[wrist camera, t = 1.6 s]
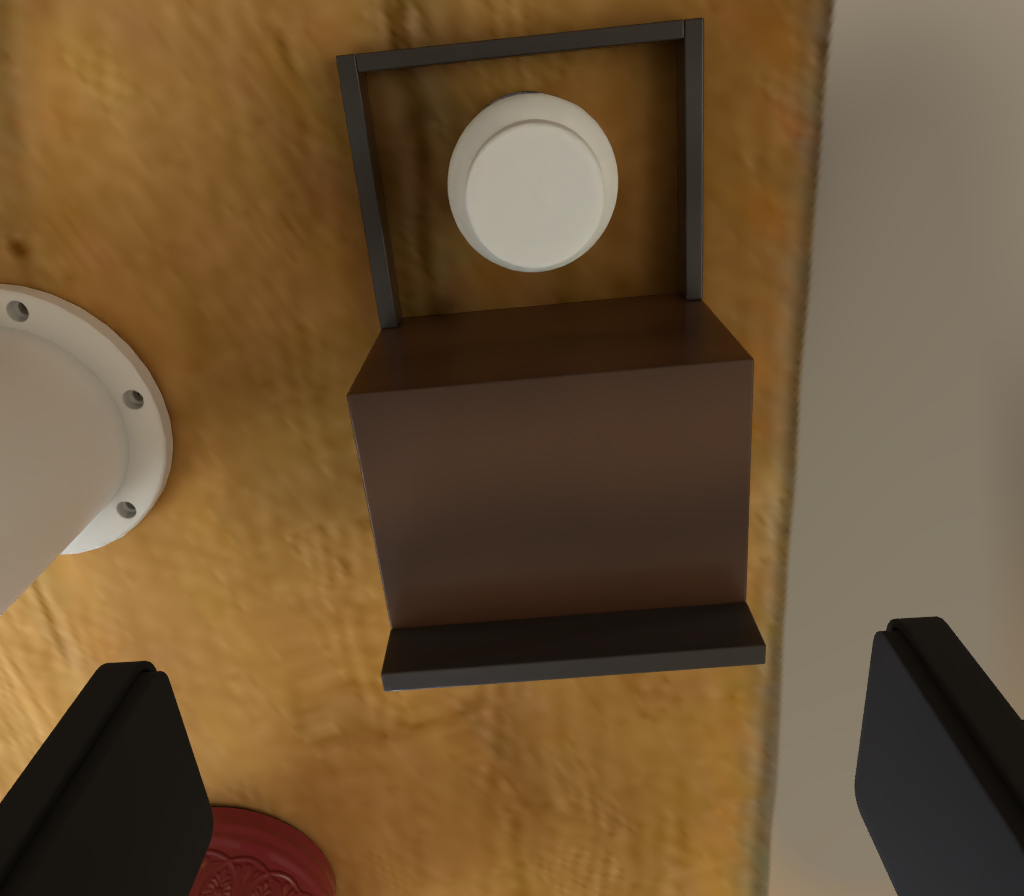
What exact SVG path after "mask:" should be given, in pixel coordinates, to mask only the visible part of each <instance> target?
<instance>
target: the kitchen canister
mask: <svg viewBox="0 0 1024 896" xmlns="http://www.w3.org/2000/svg"><path fill="white" fill-rule="evenodd" d="M211 809H212V812H213V818H214V827H213V834H212V839H211V842H210V845H209V847H208V850H207V852H206V855H205V857H204V859H203V862H202V864H201V867H200V869H199V872H198V874H197V876H196V879H195V881H194V884H193V886H192V889H191V891H190V893H189V896H336V881H335V876H334V873H333V870H332V868H331V865H330V863H329V862H328V860H327V858H326V857H325V855H324V854H323V853H322V851H321V850H320V849H319V848H318V847H317V846H316V845H315V844H314V843H313V842H312V841H311V840H310V839H309V838H307V837H306V836H305V835H304V834H302V833H301V832H299V831H298V830H296V829H295V828H293V827H291V826H289V825H288V824H286V823H284V822H281V821H279V820H277V819H275V818H272V817H270V816H267V815H264V814H260V813H257V812H253V811H248V810H243V809H237V808H226V807H211Z"/></svg>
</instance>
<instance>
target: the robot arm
mask: <svg viewBox="0 0 1024 896" xmlns="http://www.w3.org/2000/svg"><path fill="white" fill-rule="evenodd" d="M24 305H25V306H24ZM25 307H26V308H27V309H26V308H25ZM137 392H138V393H140V395H141V396H142V397H141V396H139V395H138V394H137ZM172 454H173V437H172V430H171V422H170V417H169V414H168V411H167V408H166V405H165V402H164V399H163V396H162V394H161V392H160V390H159V388H158V386H157V385H156V383H155V381H154V379H153V377H152V376H151V374H150V372H149V370H148V369H147V367H146V366H145V365H144V364H143V362H142V361H141V360H140V358H139V357H138V356H137V355H136V353H135V352H134V351H133V350H132V348H131V347H130V346H129V345H128V344H127V343H126V342H125V341H124V340H123V339H121V338H120V337H119V336H118V335H117V334H116V333H115V332H114V331H113V330H112V329H111V328H110V327H108V326H107V325H106V324H105V323H103V322H102V321H100V320H99V319H97V318H96V317H94V316H93V315H91V314H90V313H88V312H87V311H85V310H84V309H82V308H81V307H79V306H76V305H74V304H72V303H70V302H68V301H66V300H63V299H61V298H59V297H57V296H55V295H53V294H50V293H46V292H42V291H39V290H35V289H32V288H28V287H25V286H19V285H10V284H0V616H1V615H2V614H3V613H4V612H5V611H6V610H7V609H8V608H9V607H10V606H11V605H12V604H13V603H14V602H15V601H16V600H17V599H18V598H19V597H20V595H21V594H22V593H23V592H24V591H25V590H26V589H27V588H28V587H29V586H30V585H31V584H32V583H33V582H34V581H35V580H36V579H37V578H38V577H39V576H40V575H41V574H42V573H43V571H44V570H45V569H46V568H47V567H48V566H49V565H50V564H51V563H52V562H53V561H54V560H55V559H56V558H57V557H58V556H59V555H64V554H77V553H81V552H85V551H89V550H93V549H97V548H100V547H103V546H105V545H107V544H109V543H111V542H113V541H115V540H117V539H119V538H121V537H122V536H124V535H125V534H126V533H127V532H129V531H130V530H131V529H132V528H134V527H135V526H136V525H138V524H139V523H140V521H141V520H142V519H143V518H144V517H145V516H146V515H147V513H148V512H149V511H150V510H151V509H152V508H153V506H154V505H155V503H156V501H157V500H158V498H159V497H160V495H161V493H162V492H163V490H164V488H165V485H166V482H167V479H168V476H169V473H170V470H171V466H172ZM855 796H856V801H857V805H858V808H859V811H860V814H861V816H862V818H863V820H864V823H865V825H866V827H867V829H868V831H869V833H870V836H871V838H872V840H873V842H874V844H875V847H876V849H877V851H878V853H879V855H880V858H881V860H882V862H883V864H884V867H885V869H886V871H887V872H888V875H889V877H890V880H891V882H892V884H893V886H894V888H895V891H896V893H897V895H898V896H1024V720H1021V718H1020V717H1019V716H1018V715H1017V713H1016V712H1015V711H1014V709H1013V708H1012V707H1011V706H1010V704H1009V703H1008V702H1007V700H1006V699H1005V698H1004V697H1003V695H1002V694H1001V693H1000V691H999V690H998V689H997V687H996V686H995V685H994V684H993V682H992V681H991V680H990V678H989V677H988V676H987V675H986V673H985V672H984V671H983V669H982V668H981V667H980V666H979V664H978V663H977V662H976V661H975V659H974V658H973V657H972V655H971V654H970V653H969V651H968V650H967V649H966V647H965V646H964V645H963V644H962V642H961V641H960V640H959V639H958V637H957V636H956V635H955V633H954V632H953V631H952V629H951V628H950V627H949V625H948V624H947V623H946V622H945V621H944V620H943V619H942V618H939V617H921V618H901V619H893V620H891V621H890V622H889V624H888V625H887V630H886V631H879V632H876V634H875V636H874V640H873V647H872V654H871V662H870V670H869V678H868V685H867V692H866V700H865V707H864V715H863V722H862V730H861V737H860V745H859V753H858V760H857V768H856V775H855ZM213 827H214V818H213V812H212V809H211V806H210V803H209V800H208V797H207V793H206V790H205V787H204V784H203V781H202V778H201V775H200V772H199V769H198V766H197V763H196V760H195V757H194V754H193V751H192V748H191V745H190V742H189V739H188V736H187V733H186V730H185V727H184V723H183V720H182V717H181V714H180V711H179V708H178V705H177V702H176V699H175V696H174V693H173V690H172V687H171V684H170V681H169V678H168V676H167V674H165V673H164V672H162V671H157V670H156V668H155V666H154V665H153V664H152V663H151V662H148V661H136V662H119V663H106V664H104V665H101V666H100V667H99V668H98V669H97V670H96V672H95V673H94V674H93V676H92V677H91V678H90V680H89V681H88V683H87V684H86V685H85V687H84V688H83V689H82V691H81V692H80V694H79V695H78V696H77V698H76V699H75V701H74V702H73V703H72V705H71V706H70V707H69V709H68V710H67V712H66V713H65V714H64V716H63V717H62V719H61V720H60V721H59V723H58V724H57V725H56V727H55V728H54V730H53V731H52V732H51V734H50V735H49V736H48V738H47V739H46V741H45V742H44V743H43V745H42V746H41V748H40V749H39V750H38V752H37V753H36V754H35V756H34V757H33V759H32V760H31V761H30V763H29V764H28V766H27V767H26V768H25V770H24V771H23V772H22V774H21V775H20V777H19V778H18V779H17V781H16V782H15V783H14V785H13V786H12V788H11V789H10V790H9V792H8V793H7V795H6V796H5V797H4V799H3V800H2V801H1V803H0V896H189V893H190V891H191V889H192V886H193V884H194V881H195V879H196V876H197V874H198V872H199V869H200V867H201V864H202V862H203V859H204V857H205V855H206V852H207V850H208V847H209V845H210V842H211V839H212V834H213Z"/></svg>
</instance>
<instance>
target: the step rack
mask: <svg viewBox="0 0 1024 896" xmlns="http://www.w3.org/2000/svg"><path fill="white" fill-rule="evenodd" d="M676 40H677V119H678V249H679V292H680V293H673V294H662V295H651V296H640V297H629V298H619V299H608V300H597V301H586V302H575V303H564V304H553V305H542V306H531V307H521V308H510V309H499V310H488V311H477V312H466V313H455V314H444V315H433V316H423V317H412V318H402V313H401V307H400V300H399V294H398V287H397V281H396V274H395V268H394V261H393V255H392V248H391V242H390V235H389V229H388V222H387V216H386V209H385V203H384V196H383V190H382V183H381V177H380V170H379V164H378V157H377V151H376V144H375V138H374V131H373V125H372V118H371V112H370V105H369V99H368V92H367V86H366V79H365V73H370V72H379V71H389V70H399V69H408V68H418V67H427V66H437V65H447V64H456V63H466V62H475V61H485V60H495V59H504V58H514V57H523V56H533V55H543V54H552V53H562V52H571V51H581V50H591V49H600V48H610V47H619V46H629V45H639V44H648V43H658V42H667V41H676ZM336 62H337V68H338V74H339V80H340V86H341V92H342V98H343V104H344V110H345V116H346V122H347V128H348V134H349V140H350V146H351V152H352V158H353V164H354V170H355V176H356V182H357V188H358V194H359V200H360V206H361V212H362V218H363V224H364V230H365V236H366V242H367V248H368V254H369V260H370V266H371V272H372V278H373V284H374V290H375V296H376V302H377V308H378V314H379V320H380V326H381V329H382V330H381V331H380V333H379V335H378V337H377V339H376V341H375V343H374V345H373V347H372V349H371V350H370V352H369V354H368V356H367V358H366V360H365V362H364V364H363V366H362V367H361V369H360V371H359V373H358V375H357V377H356V379H355V381H354V383H353V384H352V386H351V388H350V390H349V392H348V394H347V401H348V406H349V411H350V417H351V422H352V427H353V432H354V437H355V443H356V448H357V453H358V458H359V464H360V469H361V474H362V479H363V485H364V490H365V495H366V500H367V505H368V511H369V516H370V521H371V526H372V532H373V537H374V542H375V547H376V553H377V558H378V563H379V568H380V573H381V579H382V584H383V589H384V594H385V600H386V605H387V610H388V615H389V621H390V626H391V631H390V636H389V640H388V645H387V649H386V654H385V658H384V663H383V667H382V672H381V677H382V682H383V687H384V691H385V692H388V691H402V690H415V689H429V688H442V687H456V686H470V685H483V684H497V683H510V682H524V681H538V680H551V679H565V678H579V677H592V676H606V675H619V674H633V673H647V672H660V671H674V670H687V669H701V668H715V667H728V666H742V665H755V664H765V656H766V645H765V643H764V640H763V638H762V636H761V634H760V631H759V629H758V627H757V625H756V623H755V620H754V618H753V616H752V614H751V611H750V609H749V607H748V605H747V603H746V588H747V558H748V527H749V496H750V466H751V435H752V404H753V374H754V359H753V358H752V357H751V356H750V355H749V353H748V352H747V351H746V350H745V349H744V348H743V346H742V345H741V344H740V343H739V342H738V341H737V340H736V338H735V337H734V336H733V335H732V334H731V333H730V332H729V330H728V329H727V328H726V327H725V326H724V325H723V323H722V322H721V321H720V320H719V319H718V318H717V317H716V315H715V314H714V313H713V312H712V311H711V310H710V308H709V307H708V306H707V305H706V304H705V303H704V302H703V300H702V298H703V130H704V19H703V18H693V19H686V20H674V21H665V22H655V23H646V24H636V25H627V26H617V27H608V28H598V29H589V30H579V31H570V32H560V33H550V34H541V35H531V36H522V37H512V38H503V39H493V40H484V41H474V42H465V43H455V44H446V45H436V46H427V47H417V48H408V49H398V50H389V51H379V52H370V53H360V54H356V55H355V54H351V55H341V56H336Z"/></svg>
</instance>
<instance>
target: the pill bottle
mask: <svg viewBox="0 0 1024 896" xmlns="http://www.w3.org/2000/svg"><path fill="white" fill-rule="evenodd" d="M617 193H618V171H617V164H616V159H615V156H614V153H613V150H612V147H611V145H610V143H609V141H608V139H607V137H606V135H605V134H604V132H603V130H602V129H601V128H600V126H599V125H598V123H597V122H596V121H595V120H594V119H593V118H592V117H591V116H590V115H589V114H588V113H587V112H586V111H584V110H583V109H582V108H581V107H579V106H578V105H576V104H574V103H572V102H569V101H567V100H564V99H561V98H559V97H555V96H551V95H548V94H544V93H540V92H526V91H524V92H516V93H512V94H507V95H505V96H503V97H501V98H499V99H497V100H495V101H493V102H492V103H490V104H489V105H488V106H486V107H485V108H484V109H483V110H482V111H481V112H480V113H479V114H478V115H477V116H476V117H475V118H474V119H473V120H472V121H471V122H470V123H469V124H468V126H467V127H466V128H465V130H464V132H463V133H462V135H461V136H460V138H459V139H458V142H457V144H456V146H455V148H454V151H453V154H452V157H451V160H450V165H449V172H448V197H449V203H450V207H451V211H452V214H453V217H454V219H455V222H456V224H457V226H458V228H459V230H460V231H461V233H462V234H463V236H464V237H465V239H466V240H467V241H468V243H469V244H470V245H471V246H472V247H473V248H474V249H475V250H476V251H477V252H478V253H479V254H481V255H482V256H483V257H485V258H486V259H488V260H489V261H491V262H493V263H495V264H497V265H499V266H502V267H505V268H508V269H511V270H515V271H521V272H543V271H549V270H553V269H556V268H559V267H562V266H564V265H567V264H569V263H571V262H573V261H574V260H576V259H577V258H579V257H580V256H582V255H583V254H584V253H585V252H587V251H588V250H589V249H590V248H591V247H592V246H593V245H594V244H595V243H596V242H597V240H598V239H599V238H600V236H601V235H602V234H603V232H604V230H605V229H606V227H607V225H608V223H609V221H610V219H611V217H612V214H613V211H614V207H615V204H616V199H617Z"/></svg>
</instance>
